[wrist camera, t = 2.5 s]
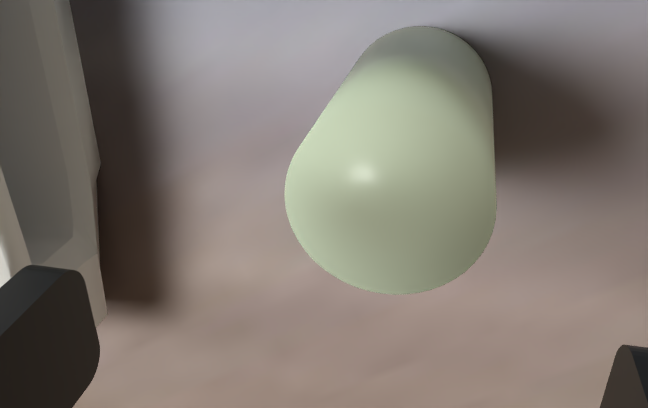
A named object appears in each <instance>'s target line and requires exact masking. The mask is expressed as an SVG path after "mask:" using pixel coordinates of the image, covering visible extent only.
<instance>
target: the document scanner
mask: <svg viewBox="0 0 648 408" xmlns="http://www.w3.org/2000/svg"><path fill="white" fill-rule="evenodd" d="M100 166H101V161H100V156H99V151H98V146H97V140H96V135H95V130H94V125H93V120H92V115H91V110H90V105H89V99H88V94H87V89H86V84H85V79H84V74H83V69H82V63H81V58H80V53H79V48H78V43H77V38H76V33H75V28H74V22H73V17H72V12H71V7H70V2H69V0H0V288H1V287H2V286H3V285H4V284H5V283H6V282H7V281H8V280H10V279H11V278H12V277H13V276H14V275H15V274H16V273H17V272H19V271H20V270H21V269H22V268H24V267H26V266H28V265H40V266H48V267H55V268H63V269H70V270H76V271H78V272H79V273H81V275H82V276H83V278H84V280H85V283H86V287H87V292H88V296H89V301H90V305H91V309H92V314H93V318H94V322H95V327H97V326H98V325H99V324H100V323H101V321H102V320H103V319H104V318H105V317H106V316H107V314H108V312H107V306H106V300H105V294H104V288H103V282H102V277H101V271H100V252H99V228H98V203H97V183H96V179H97V176H98V172H99V169H100Z"/></svg>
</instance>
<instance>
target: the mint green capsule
mask: <svg viewBox="0 0 648 408" xmlns="http://www.w3.org/2000/svg"><path fill="white" fill-rule="evenodd" d="M285 205H286V211H287V215H288V219H289V222H290V225H291V227H292V230H293V232H294V234H295V236H296V237H297V239H298V241H299V243H300V244H301V245H302V247H303V248H304V250H305V251H306V252H307V253H308V255H309V256H310V257H311V258H312V259H313V260H314V261H315V262H316V263H317V264H318V265H320V266H321V267H322V268H323V269H324V270H326V271H327V272H328V273H330V274H331V275H333V276H334V277H336V278H338V279H340V280H341V281H343V282H345V283H348V284H350V285H352V286H355V287H357V288H360V289H364V290H367V291H371V292H376V293H382V294H393V295H396V294H413V293H420V292H424V291H428V290H432V289H434V288H437V287H440V286H442V285H445V284H446V283H448V282H450V281H452V280H454V279H456V278H457V277H458V276H460V275H461V274H463V273H464V272H465V271H466V270H468V269H469V268H470V267H471V266H472V265H473V264H474V263H475V262H476V260H477V259H478V258H479V257H480V255H481V254H482V253H483V251H484V249H485V248H486V246H487V244H488V242H489V240H490V237H491V235H492V232H493V228H494V224H495V220H496V209H497V204H496V178H495V153H494V128H493V102H492V86H491V81H490V77H489V74H488V71H487V69H486V67H485V65H484V63H483V61H482V59H481V58H480V56H479V55H478V54H477V52H476V51H475V50H474V49H473V48H472V47H471V46H470V45H469V44H468V43H466V42H465V41H464V40H462V39H461V38H459V37H458V36H456V35H454V34H452V33H450V32H447V31H445V30H442V29H438V28H434V27H426V26H414V27H407V28H402V29H399V30H395V31H393V32H390V33H388V34H386V35H384V36H382V37H381V38H379V39H377V40H376V41H375V42H374V43H372V44H371V45H370V46H369V47H368V48H367V49H366V50H365V51H364V52H363V54H362V55H361V57H360V58H359V59H358V61H357V62H356V64H355V65H354V67H353V68H352V70H351V71H350V73H349V74H348V75H347V77H346V78H345V80H344V81H343V83H342V84H341V86H340V87H339V89H338V90H337V92H336V93H335V95H334V96H333V98H332V99H331V101H330V102H329V104H328V105H327V107H326V108H325V109H324V111H323V112H322V114H321V115H320V117H319V118H318V120H317V121H316V123H315V124H314V126H313V127H312V129H311V130H310V132H309V133H308V135H307V136H306V138H305V139H304V140H303V142H302V143H301V145H300V146H299V148H298V149H297V151H296V153H295V155H294V157H293V159H292V161H291V163H290V166H289V169H288V172H287V177H286V182H285Z"/></svg>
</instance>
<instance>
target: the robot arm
mask: <svg viewBox="0 0 648 408" xmlns="http://www.w3.org/2000/svg"><path fill="white" fill-rule="evenodd" d="M99 357H100V345H99V340H98V335H97V331H96V327H95V322H94V318H93V314H92V309H91V305H90V301H89V296H88V292H87V287H86V283H85V280H84V278H83V276H82V275H81V273H79V272H78V271H76V270H70V269H63V268H55V267H48V266H40V265H28V266H26V267H24V268H22V269H21V270H20V271H19V272H17V273H16V274H15V275H14V276H13V277H12V278H11V279H10V280H8V281H7V282H6V283H5V284H4V285H3V286H2V287H1V288H0V408H72V407H73V406H74V405H75V403H76V402H77V401H78V399H79V398H80V396H81V395H82V394H83V392H84V391H85V390H86V388H87V387H88V386H89V384H90V383H91V381H92V379H93V377H94V375H95V373H96V370H97V367H98V362H99ZM600 408H648V348H646V347H638V346H630V345H622V346H621V347H620V348H619V349H618V351H617V353H616V356H615V359H614V362H613V366H612V369H611V372H610V376H609V379H608V382H607V386H606V389H605V392H604V396H603V399H602V402H601V406H600Z"/></svg>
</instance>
